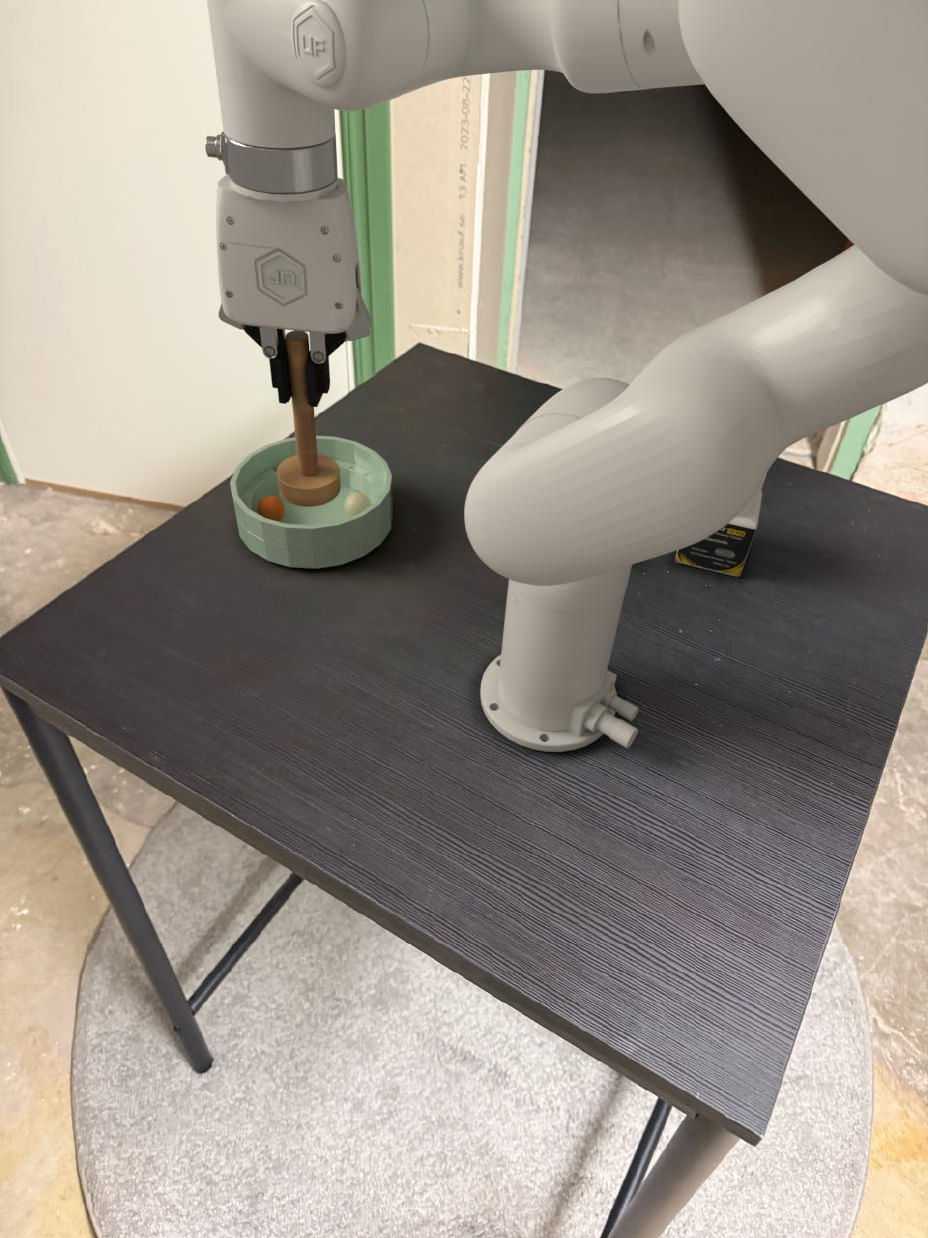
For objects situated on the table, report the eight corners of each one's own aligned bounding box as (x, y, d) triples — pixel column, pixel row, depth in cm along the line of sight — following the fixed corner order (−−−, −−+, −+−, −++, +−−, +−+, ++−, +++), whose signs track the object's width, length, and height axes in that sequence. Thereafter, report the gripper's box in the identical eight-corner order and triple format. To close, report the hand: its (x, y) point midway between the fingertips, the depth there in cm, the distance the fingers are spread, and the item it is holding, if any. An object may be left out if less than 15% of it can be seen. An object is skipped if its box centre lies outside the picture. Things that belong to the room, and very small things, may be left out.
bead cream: (377, 515, 99) (376, 494, 97) (359, 528, 97) (358, 506, 95) (357, 505, 100) (356, 483, 98) (339, 517, 98) (338, 495, 96)
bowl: (423, 517, 100) (423, 474, 96) (316, 595, 90) (311, 550, 86) (315, 461, 107) (311, 419, 103) (206, 527, 97) (196, 483, 93)
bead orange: (291, 519, 98) (289, 497, 96) (271, 532, 96) (268, 510, 94) (273, 508, 99) (270, 487, 97) (253, 521, 97) (249, 499, 95)
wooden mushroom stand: (353, 486, 80) (347, 334, 70) (311, 514, 77) (298, 359, 66) (308, 463, 82) (296, 312, 72) (266, 490, 79) (246, 335, 69)
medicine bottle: (674, 563, 96) (699, 472, 87) (683, 525, 101) (708, 436, 92) (739, 578, 94) (771, 488, 86) (745, 540, 99) (776, 451, 91)
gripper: (151, 167, 58) (196, 410, 71) (385, 190, 57) (387, 431, 70) (189, 134, 63) (224, 365, 76) (403, 155, 63) (402, 384, 76)
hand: (302, 395), depth 73 cm, fingers closed on wooden mushroom stand
